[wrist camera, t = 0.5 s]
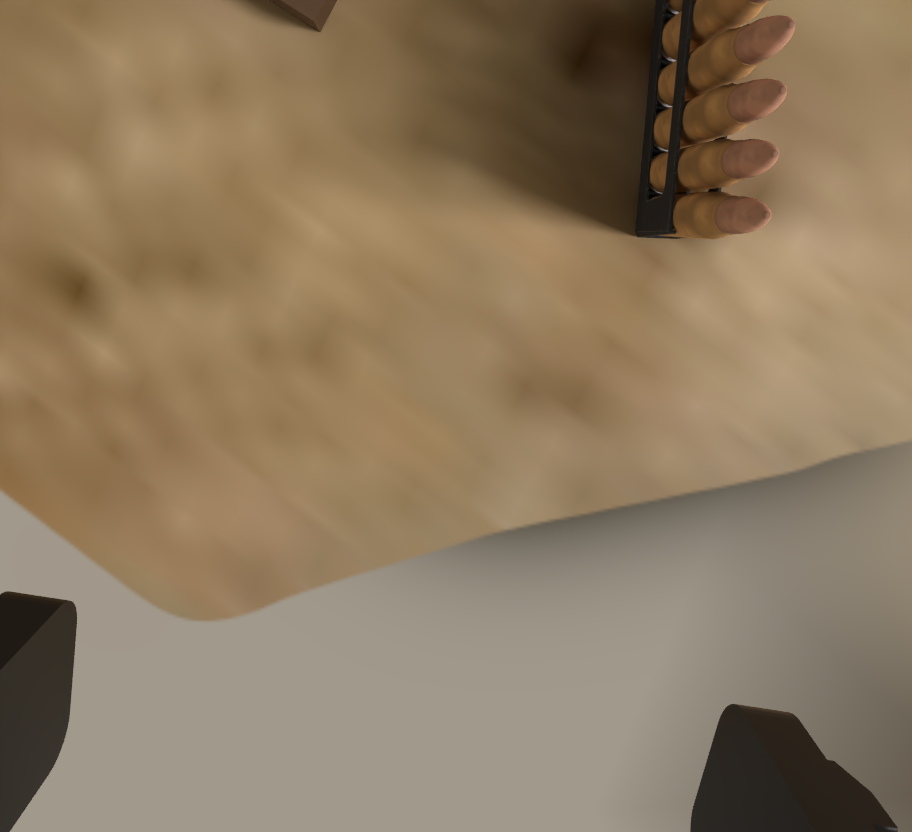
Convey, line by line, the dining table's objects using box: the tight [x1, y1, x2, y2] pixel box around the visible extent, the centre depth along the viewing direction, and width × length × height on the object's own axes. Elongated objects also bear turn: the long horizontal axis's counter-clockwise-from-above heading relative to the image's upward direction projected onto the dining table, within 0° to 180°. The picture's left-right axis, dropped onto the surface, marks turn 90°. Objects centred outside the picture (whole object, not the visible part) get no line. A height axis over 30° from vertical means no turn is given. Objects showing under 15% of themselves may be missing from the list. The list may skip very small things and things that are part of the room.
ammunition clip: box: [635, 0, 795, 239], centre depth 29 cm, size 11×2×12 cm, turn 178°
